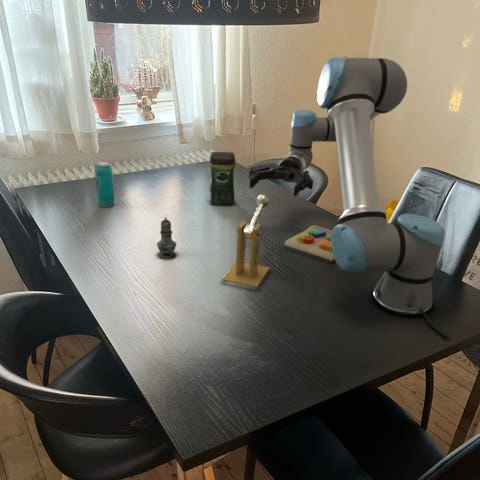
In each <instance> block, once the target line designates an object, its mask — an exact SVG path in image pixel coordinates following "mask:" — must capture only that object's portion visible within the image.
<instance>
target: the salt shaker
mask: <svg viewBox="0 0 480 480" xmlns="http://www.w3.org/2000/svg"><path fill="white" fill-rule="evenodd" d="M159 234H160V240H159V241H157V242H156V246H157V249H158V250H159V252H158V254H157V255H158V257H159V258H160V259H164V260H170V259H174V258H175V257H176V256H177V252H175V250H176V246H177V242H176V241H175V240H173V237H172V234H173V230H172V223H171V221H170V220H169V219H168V217H166V216H165V217H164V219H162V220H161V221H160V231H159Z"/></svg>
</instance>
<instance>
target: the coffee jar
mask: <svg viewBox="0 0 480 480" xmlns="http://www.w3.org/2000/svg"><path fill="white" fill-rule="evenodd" d="M236 164H237V163H236V155H235V153H234V152H233V151H211V153H210V157H209V162H208V166H209V168H210V182H209V183H210V184H209V192H208V193H209V195H208V201H209V203H210V204H212V205H218V206H229V205H232V204H234V203H235V197H236V196H235V185H234V184H235V183H234V170H235V168H236Z"/></svg>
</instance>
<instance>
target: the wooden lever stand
mask: <svg viewBox="0 0 480 480" xmlns="http://www.w3.org/2000/svg"><path fill="white" fill-rule="evenodd" d="M246 225H248V221H247V220H246V221H245V220H243V221H242V222H241V223H240V224H239V225H238V226H237V238H236V239H237V240H236V261H235V263H234V264H233V265H232V267H231V268H230V269H229V270H228V272H226V274H225V275H224V276H223V277H222V279H221V280H222V281H224V282H228V283H232V284H233V283H234V284H239V285H243V286H248V287H252V288H255V289H257V288H258V287H259V286H260V284H261V282H262V281H263V279H264V278H265V276H266V274H268V273H269V271H270V269H271V268H270V267H269V266H264V265H260V264H259V259H260V258H259V257H260V245H261V244H260V243H261V233H262V231H261V229H262V224H261V223H256V224H255V226H254V228H253V230H252V239H251V245H250V258H249V259H250V260H249V262H245V261H246V260H245V259H246V246H247V245H246V243H247V242H246V241H247V238H244V233H243V231H244V229H245V227H246Z"/></svg>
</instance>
